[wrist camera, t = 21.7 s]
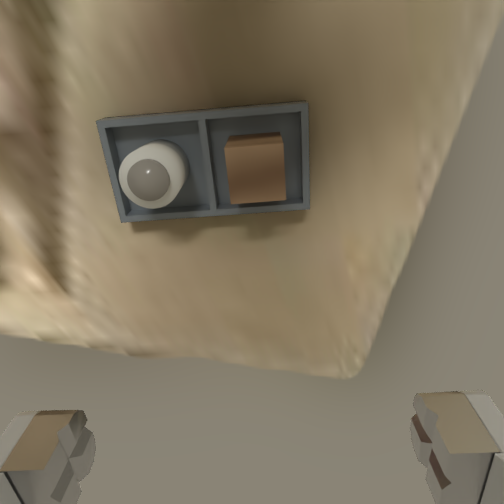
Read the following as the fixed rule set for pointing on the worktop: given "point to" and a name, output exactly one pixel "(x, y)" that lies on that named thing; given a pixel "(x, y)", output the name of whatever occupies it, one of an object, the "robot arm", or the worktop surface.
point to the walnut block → (255, 168)
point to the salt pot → (154, 173)
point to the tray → (210, 156)
